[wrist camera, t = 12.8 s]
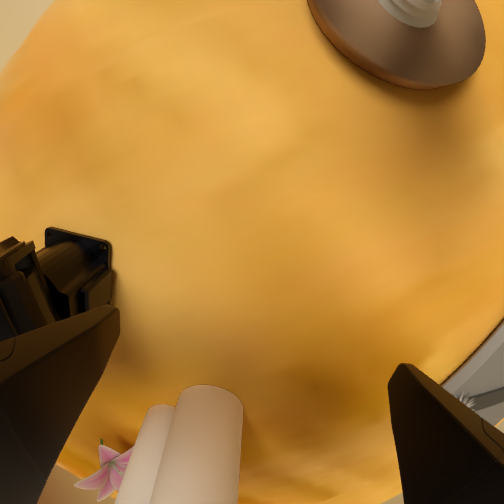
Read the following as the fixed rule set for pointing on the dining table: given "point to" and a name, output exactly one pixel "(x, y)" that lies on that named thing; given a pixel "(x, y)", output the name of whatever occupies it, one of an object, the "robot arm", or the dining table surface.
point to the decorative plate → (482, 379)
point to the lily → (107, 472)
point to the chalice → (413, 11)
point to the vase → (187, 451)
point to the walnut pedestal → (405, 41)
